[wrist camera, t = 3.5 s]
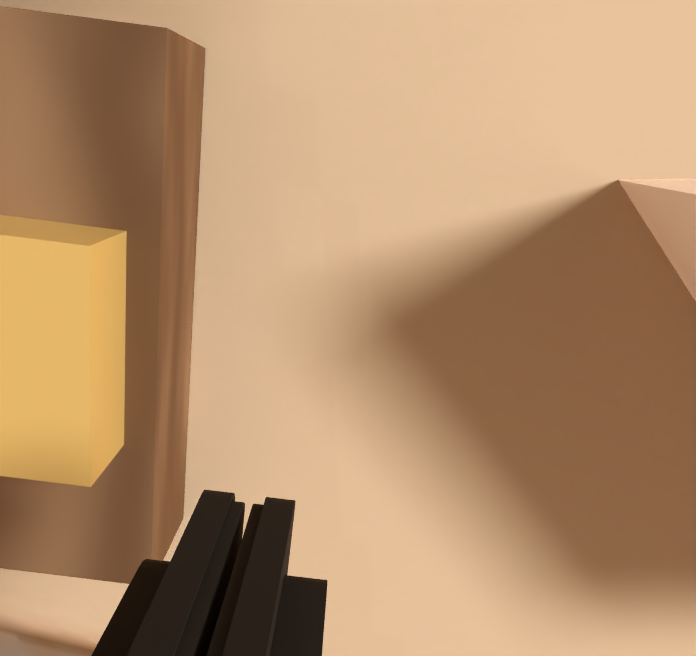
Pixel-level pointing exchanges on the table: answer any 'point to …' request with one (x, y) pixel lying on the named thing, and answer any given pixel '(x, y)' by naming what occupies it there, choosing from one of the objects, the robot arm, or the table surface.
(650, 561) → the table surface
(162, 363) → the plate
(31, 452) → the yellow sticky note pad
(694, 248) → the white rectangular block
